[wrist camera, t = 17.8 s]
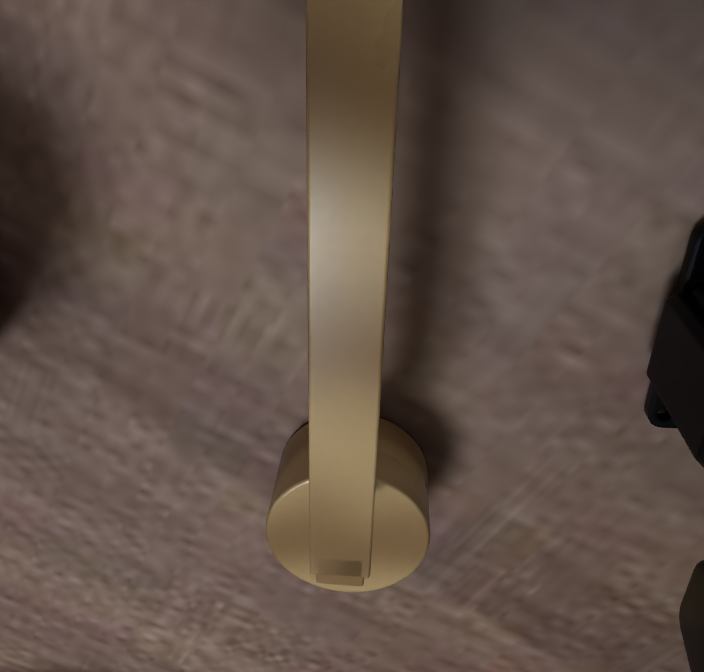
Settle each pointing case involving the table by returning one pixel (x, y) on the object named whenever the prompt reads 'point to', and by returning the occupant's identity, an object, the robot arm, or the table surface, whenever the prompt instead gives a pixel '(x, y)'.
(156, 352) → the table surface
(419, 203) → the table surface
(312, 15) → the ladle
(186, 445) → the table surface
